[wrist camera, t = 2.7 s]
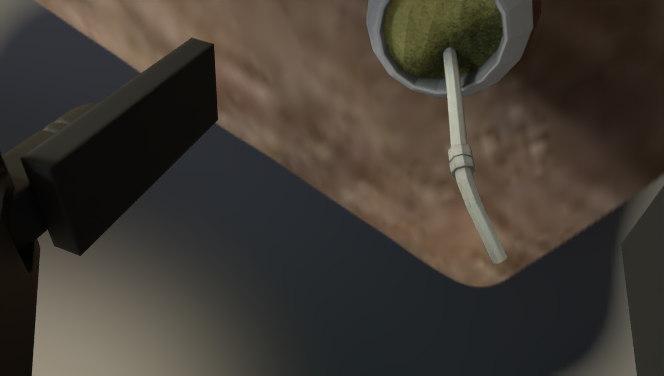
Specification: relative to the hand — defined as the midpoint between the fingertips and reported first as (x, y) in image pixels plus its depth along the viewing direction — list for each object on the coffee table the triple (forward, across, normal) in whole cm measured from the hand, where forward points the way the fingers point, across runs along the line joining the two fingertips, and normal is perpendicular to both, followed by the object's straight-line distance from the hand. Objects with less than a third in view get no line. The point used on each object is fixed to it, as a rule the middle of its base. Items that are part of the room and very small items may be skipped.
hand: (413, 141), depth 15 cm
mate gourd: (+15, 0, 0) cm, 15 cm away
